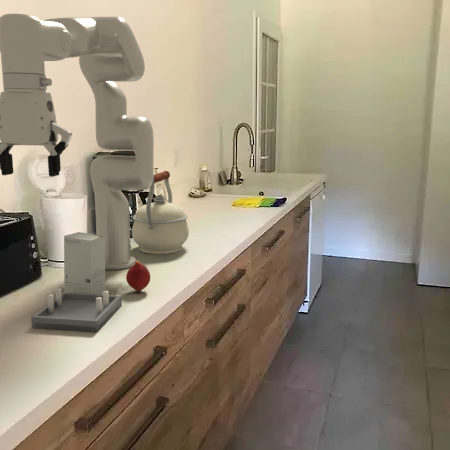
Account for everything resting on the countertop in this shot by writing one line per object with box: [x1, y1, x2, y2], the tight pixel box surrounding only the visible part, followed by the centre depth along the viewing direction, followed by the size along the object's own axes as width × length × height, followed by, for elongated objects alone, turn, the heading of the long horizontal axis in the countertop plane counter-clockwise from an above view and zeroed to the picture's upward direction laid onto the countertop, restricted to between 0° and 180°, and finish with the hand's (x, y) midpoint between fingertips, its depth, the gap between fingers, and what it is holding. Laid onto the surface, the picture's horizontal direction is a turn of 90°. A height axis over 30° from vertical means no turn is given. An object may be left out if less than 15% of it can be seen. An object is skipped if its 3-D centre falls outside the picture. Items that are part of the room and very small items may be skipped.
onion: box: [125, 259, 151, 293], centre depth 127 cm, size 6×6×8 cm
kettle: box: [131, 170, 190, 255], centre depth 168 cm, size 25×18×25 cm
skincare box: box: [63, 231, 106, 295], centre depth 124 cm, size 8×6×15 cm
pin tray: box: [30, 287, 123, 333], centre depth 112 cm, size 15×14×5 cm
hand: (30, 175), depth 101 cm, fingers open, 9 cm apart
